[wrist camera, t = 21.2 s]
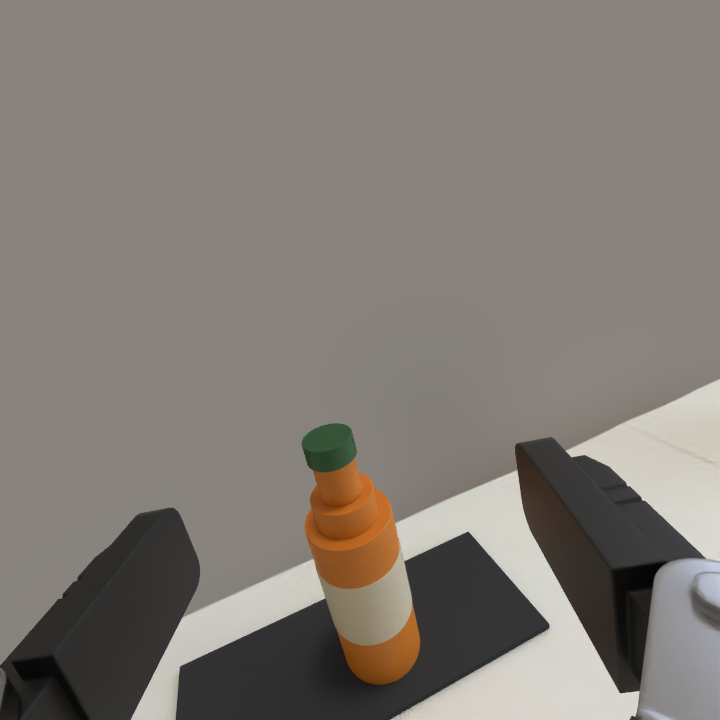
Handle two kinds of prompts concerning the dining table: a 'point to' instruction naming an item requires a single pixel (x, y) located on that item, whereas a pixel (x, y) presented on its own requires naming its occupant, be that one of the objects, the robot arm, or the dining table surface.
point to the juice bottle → (359, 560)
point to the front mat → (327, 659)
